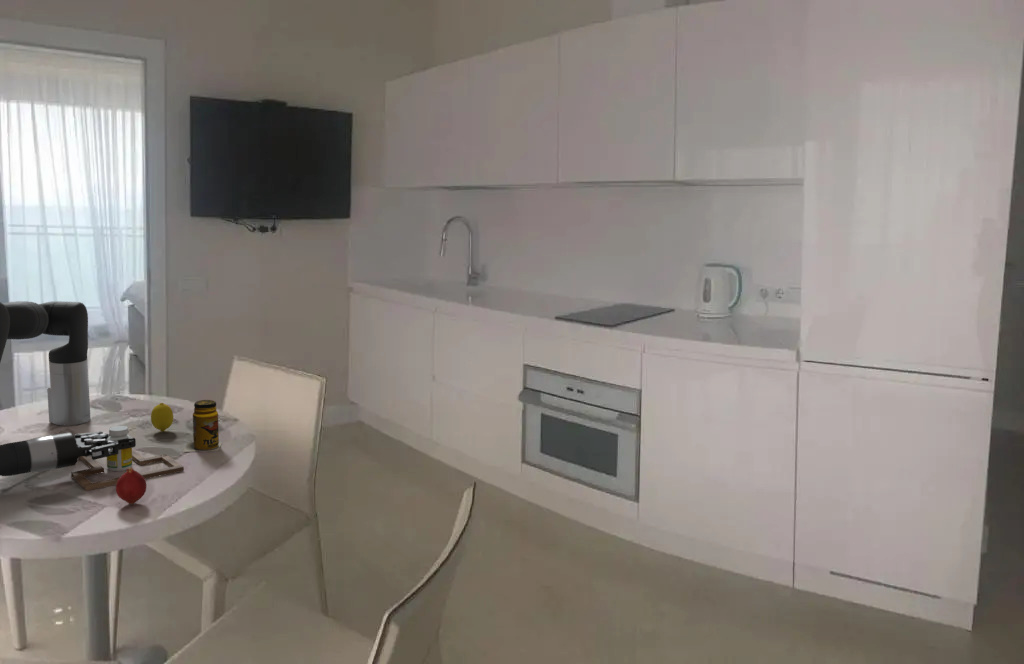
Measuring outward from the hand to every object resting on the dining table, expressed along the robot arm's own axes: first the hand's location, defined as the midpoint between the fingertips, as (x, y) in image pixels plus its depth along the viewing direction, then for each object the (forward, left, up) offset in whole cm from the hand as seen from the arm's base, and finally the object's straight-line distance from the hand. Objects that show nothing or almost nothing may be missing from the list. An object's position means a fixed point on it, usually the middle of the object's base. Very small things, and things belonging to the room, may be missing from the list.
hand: (130, 438), depth 190 cm
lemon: (-9, +25, -7) cm, 28 cm away
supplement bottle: (-1, -2, -7) cm, 7 cm away
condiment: (+8, +17, -7) cm, 20 cm away
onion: (+15, -20, -7) cm, 26 cm away
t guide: (-2, -1, -7) cm, 7 cm away
